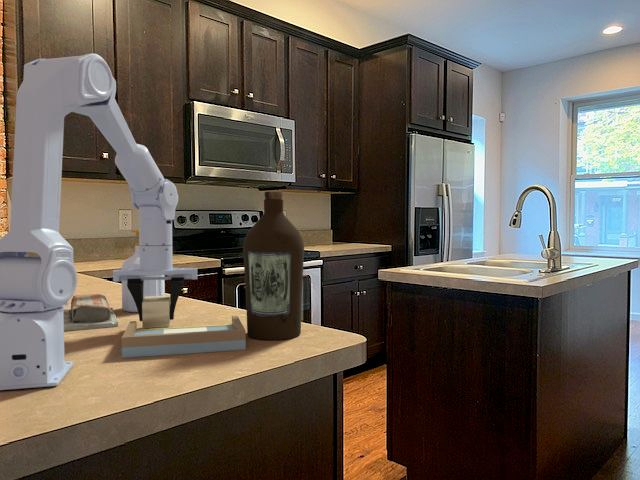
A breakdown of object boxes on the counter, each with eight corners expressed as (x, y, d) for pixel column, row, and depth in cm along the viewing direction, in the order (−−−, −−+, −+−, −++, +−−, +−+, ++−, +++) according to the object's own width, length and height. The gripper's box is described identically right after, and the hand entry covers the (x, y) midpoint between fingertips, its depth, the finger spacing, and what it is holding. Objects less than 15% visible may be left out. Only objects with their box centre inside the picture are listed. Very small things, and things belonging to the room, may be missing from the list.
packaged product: (61, 294, 106) (112, 291, 110) (62, 316, 106) (112, 313, 110) (58, 307, 89) (118, 303, 94) (59, 334, 90) (118, 329, 94)
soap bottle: (121, 307, 114) (119, 200, 113) (162, 304, 118) (160, 200, 117) (123, 314, 106) (121, 198, 105) (167, 310, 110) (166, 199, 109)
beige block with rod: (169, 333, 88) (169, 301, 88) (142, 334, 87) (142, 302, 87) (170, 324, 96) (170, 294, 96) (146, 325, 95) (145, 295, 95)
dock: (245, 349, 77) (245, 330, 77) (121, 357, 73) (121, 337, 73) (237, 332, 89) (237, 315, 89) (130, 338, 84) (130, 321, 84)
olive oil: (251, 327, 94) (250, 193, 92) (307, 328, 92) (307, 193, 91) (236, 340, 83) (235, 190, 82) (299, 342, 82) (299, 190, 81)
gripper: (196, 243, 96) (197, 313, 97) (116, 244, 92) (117, 317, 93) (197, 245, 89) (198, 320, 90) (110, 246, 86) (112, 325, 86)
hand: (157, 319), depth 91 cm, fingers closed on beige block with rod, 4 cm apart
